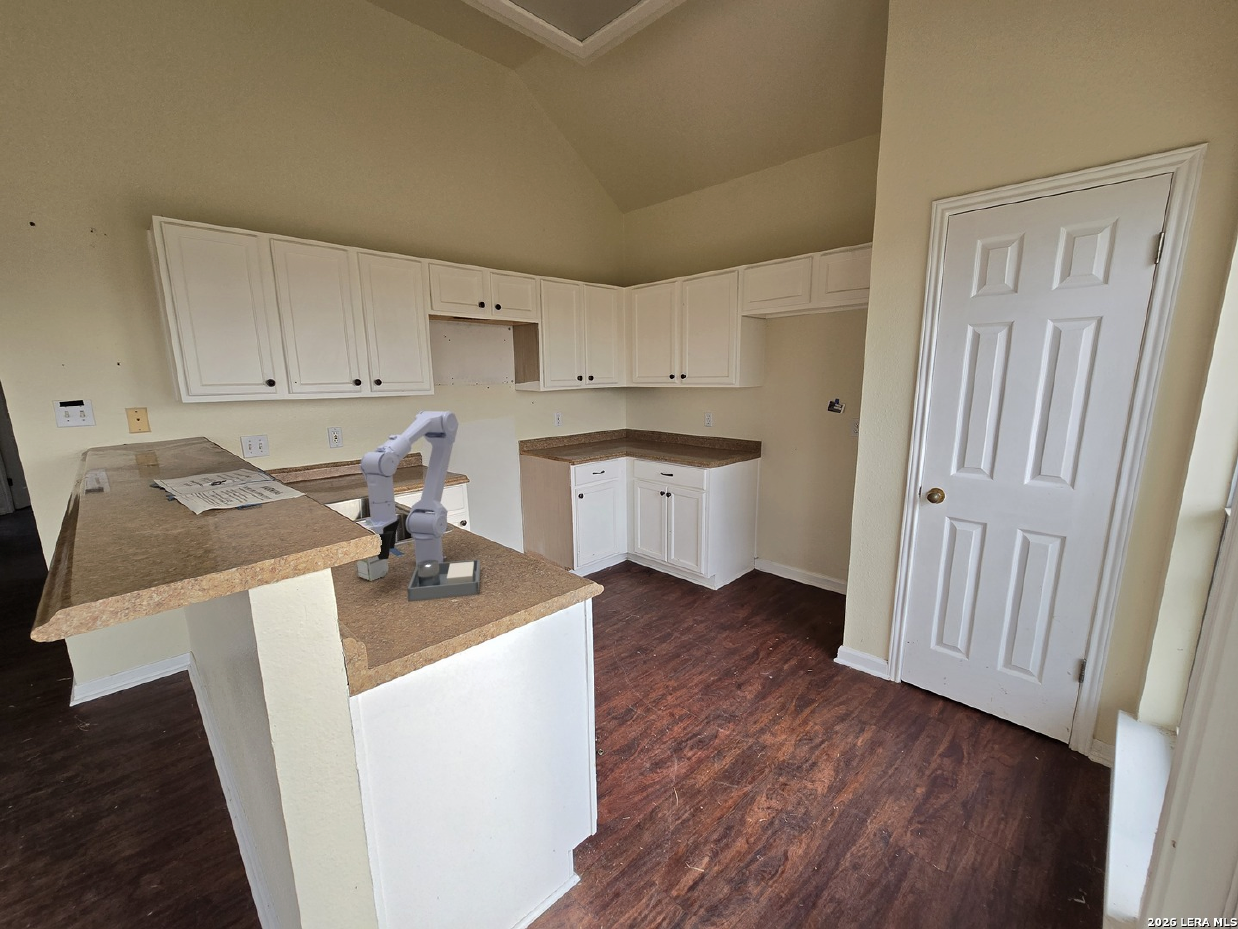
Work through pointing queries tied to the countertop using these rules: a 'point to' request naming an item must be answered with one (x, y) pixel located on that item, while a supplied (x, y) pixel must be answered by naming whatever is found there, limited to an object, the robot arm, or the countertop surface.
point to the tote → (444, 584)
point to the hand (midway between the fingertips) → (386, 553)
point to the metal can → (428, 573)
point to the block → (460, 573)
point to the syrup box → (371, 564)
